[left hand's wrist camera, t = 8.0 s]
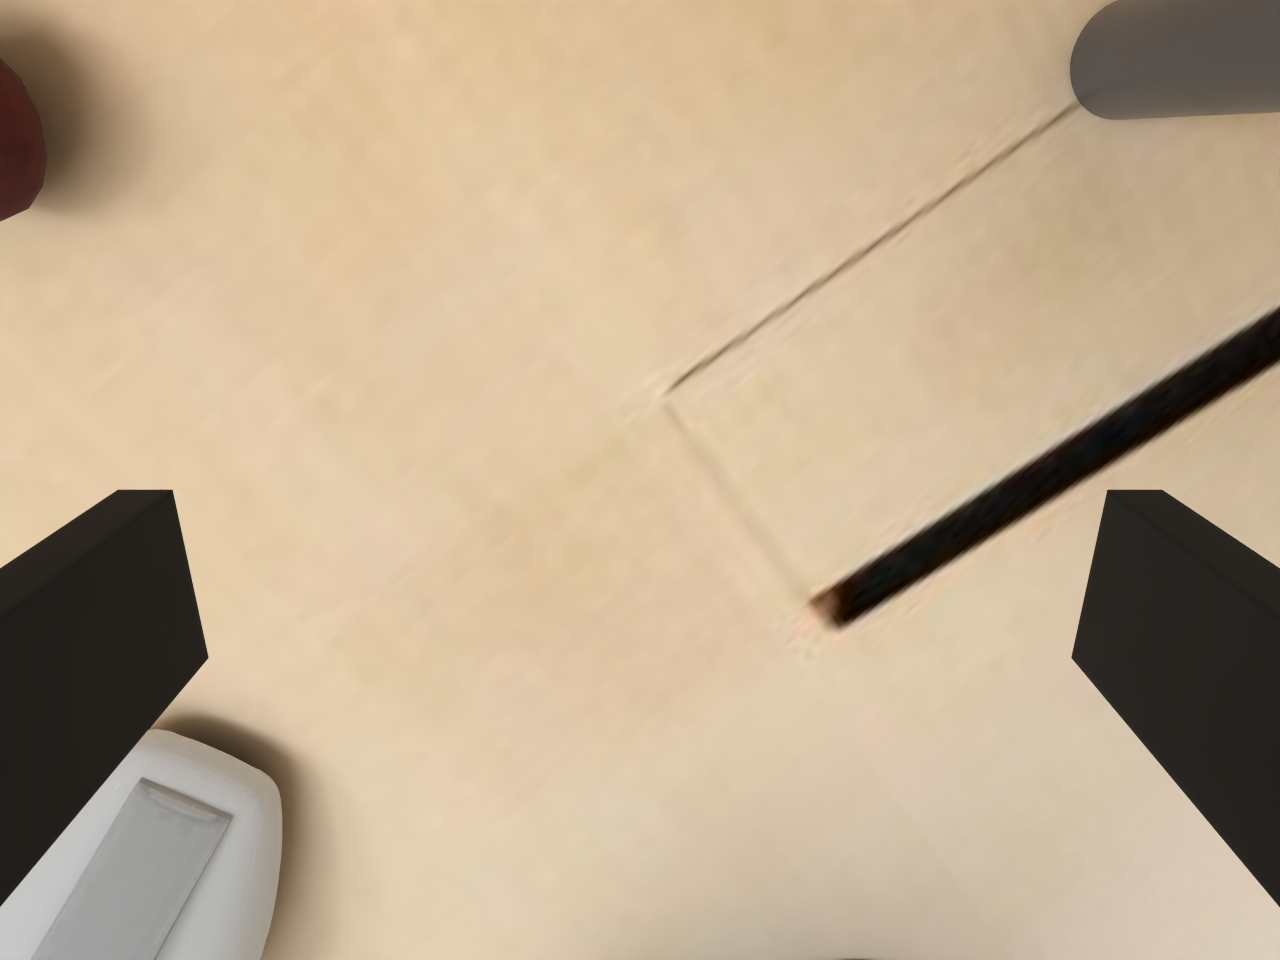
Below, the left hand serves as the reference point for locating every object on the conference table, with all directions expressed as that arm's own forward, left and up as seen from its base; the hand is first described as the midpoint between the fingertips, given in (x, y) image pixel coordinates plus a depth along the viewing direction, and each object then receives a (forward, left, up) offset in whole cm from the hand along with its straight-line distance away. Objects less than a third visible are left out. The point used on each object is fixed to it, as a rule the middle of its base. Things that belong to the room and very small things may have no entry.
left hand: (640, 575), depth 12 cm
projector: (-34, +29, -28) cm, 53 cm away
